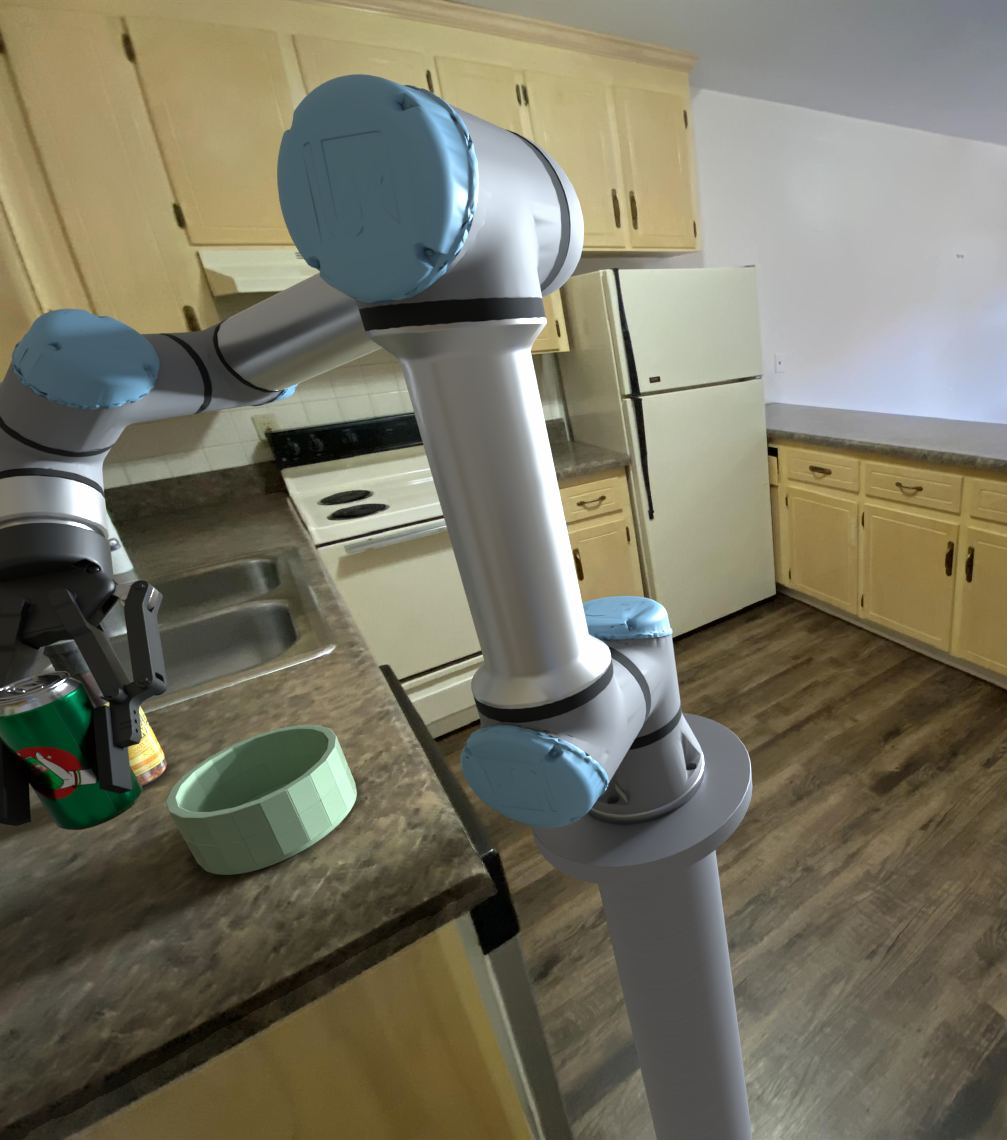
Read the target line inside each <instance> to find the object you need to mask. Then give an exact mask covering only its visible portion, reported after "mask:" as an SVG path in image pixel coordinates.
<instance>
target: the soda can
mask: <svg viewBox="0 0 1007 1140" xmlns="http://www.w3.org/2000/svg"><path fill="white" fill-rule="evenodd" d="M92 708H96V706H95V704H94V702H93V700H92V699H91V697H90V695H89V693H88V692H87V690H86V688H85V686H84V685H83V683H82V682H81V681H79V680H76V679H74V678H72V677H70V674H69V673H68V672H65V671H55V670H54V671H49V672H44V673H39V674H35V675H31V677H28V678H25V679H22V680H19V681H16V682H14V683H11V684H9V685H6V686H4V687H2V688H0V740H1V741H2V743H3V744H4V746H5V747H6V749H7V750H8V752H9V753H10V755H11V756H12V758H13V759H14V761H15V763H16V764H17V766H18V767H19V769H20V770H21V772H22V773H23V775H24V776H25V778H26V779H27V781H28V782H29V786H30V787H31V788H32V790H33V791H34V793H35V795H36V796H37V798H38V799H39V800H40V802H41V804H42V805H43V807H44V808H45V810H46V811H47V813H48V814H49V816H50V817H51V819H52V821H53V822H54V823H55V825H56V826H57V828H59V829H63V830H70V831H81V830H87V829H90V828H94V827H97V826H100V825H103V824H105V823H107V822H110V821H111V820H113V819H115V818H117V817H119V816H120V815H122V814H124V813H125V812H127V811H128V810H129V809H130V808H132V807H133V806H134V805H135V804H136V803H137V802H138V800H139V798H140V797H141V794H142V791H143V786H141V784H140V782H139V781H138V779H137V777H136V775H135V774H134V772H133V770H132V768H131V767H130V773H131V782H132V790H131V791H128V792H125V793H121V794H118V793H114V792H110V791H106V790H102V789H100V788H99V777H98V766H97V754H96V743H95V732H94V720H93V709H92Z"/></svg>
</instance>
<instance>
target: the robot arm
mask: <svg viewBox="0 0 1007 1140" xmlns="http://www.w3.org/2000/svg"><path fill="white" fill-rule="evenodd" d="M276 180H277V181H276V182H277V185H276V186H277V191H278V192H277V193H278V201H279V205H280V210H281V214H282V217H283V220H284V223H285V226H286V229H287V231H288V234H289V236H290V238H291V241H292V242H293V244H294V246H295V248H296V249H297V251H298V253H299V254H300V257H302V259H303V260H304V261H305V263H306V264H307V266H308V267H311V268H313V269H316V270H317V271H318V272H317V273H316V274H313V275H311V276H310V277H307V278H305V279H303V280H301V281H300V282H297V283H296V284H295V283H294V285H291V286H289V287H287V288H285V289H283V290H281V291H279V292H277V293H275V294H273V295H271V296H269V297H267V298H266V299H265V298H264V299H263V300H261V301H259V302H258V303H255V304H253V305H251V306H249V307H247V308H245V309H243V310H241V311H239V312H237V313H234V314H233V315H231V316H229V317H227V318H226V319H224V320H222V321H220V322H218V323H216V324H213V325H211V326H210V327H207V328H205V329H202V330H197V331H187V332H186V331H184V332H181V331H180V332H160V333H159V332H158V333H140V332H139V331H138V330H136V329H134V328H133V327H131V326H130V325H128V324H127V323H125V322H122V321H120V320H118V319H116V318H113V317H111V316H108V315H97V314H93V313H91V312H90V311H88V310H87V309H80V308H59V309H55V310H50V311H47V312H45V313H43V314H41V315H39V317H37V318H36V319H35V320H34V321H33V323H32V324H31V326H30V327H29V329H28V331H27V332H26V333H25V334H24V335H23V336H22V338H21V340H20V341H18V342H17V343H16V344H15V346H14V349H13V351H12V354H11V361H10V362H9V366H8V369H7V371H6V373H5V375H4V378H3V379H2V381H1V382H0V688H2V687H4V686H6V685H9V684H11V683H14V682H16V681H19V680H22V679H25V678H28V677H31V676H33V675H32V674H33V672H34V669H35V665H36V662H37V661H39V660H41V659H42V657H43V656H44V654H43V651H44V648H45V646H49V645H51V644H54V643H56V642H58V641H61V640H74V641H75V643H76V645H77V647H78V649H79V650H80V652H81V654H82V656H83V658H84V660H85V662H86V664H87V666H88V667H89V669H90V671H91V673H92V675H93V677H94V679H95V681H96V683H97V685H98V686H99V688H100V690H101V692H102V694H103V696H104V697H102V696H101V697H100V698H101V699H103V700H105V701H107V702H109V706H106V705H103V706H99V707H96V708H92V709H93V720H94V732H95V743H96V754H97V766H98V777H99V788H100V789H102V790H106V791H110V792H114V793H118V794H121V793H125V792H128V791H131V790H132V782H131V773H130V763H129V754H128V747H129V746H133V745H136V744H139V743H140V741H141V738H142V732H141V726H140V725H141V724H140V715H139V707H140V706H141V705H142V703H144V702H145V701H147V700H148V699H150V698H152V697H154V696H156V697H157V696H161V695H163V694H165V693H166V692H167V691H168V688H169V687H168V679H167V674H166V673H167V672H166V667H165V659H164V653H163V646H162V641H161V640H162V639H161V634H160V628H159V627H160V626H159V622H158V612H159V610H160V607H161V604H162V601H163V597H164V596H163V594H162V592H160V591H159V590H157V588H155V586H153V585H151V584H150V583H149V582H148V581H146V580H142V579H140V580H136V581H134V582H133V583H131V584H118V583H117V582H116V581H115V579H114V569H113V559H112V558H113V557H112V547H111V544H110V541H109V537H110V533H109V526H108V525H109V524H108V515H107V506H106V505H107V504H106V495H105V487H104V486H105V485H104V475H103V473H104V472H103V465H104V461H105V458H106V457H107V455H108V454H109V452H110V451H111V449H112V448H113V447H114V445H115V444H116V443H117V441H118V439H119V438H120V436H121V435H122V433H123V431H124V430H125V429H126V428H127V427H128V426H130V425H134V424H138V423H139V424H140V423H147V422H153V421H159V420H165V419H171V418H178V417H184V416H190V415H191V416H192V415H198V414H201V413H209V412H215V411H216V412H217V411H222V410H227V409H228V410H230V409H236V408H237V409H238V408H244V407H261V406H265V405H269V404H272V403H274V402H279V401H282V400H286V399H288V398H289V397H291V396H293V394H294V393H295V391H296V389H297V386H298V385H299V384H300V383H304V382H305V381H308V380H310V379H313V378H314V377H315V378H316V377H317V376H320V375H322V374H325V373H327V372H329V371H332V370H334V369H336V368H338V367H341V366H343V365H345V364H348V363H350V362H353V361H355V360H357V359H359V358H362V357H365V356H367V355H369V354H371V353H374V352H376V351H379V350H381V349H383V350H385V351H387V352H388V353H390V355H392V356H393V357H394V358H395V359H396V360H397V361H398V362H399V363H400V367H401V370H402V375H403V378H404V381H405V385H406V389H407V391H408V395H409V398H410V403H411V406H412V411H413V413H414V417H415V420H416V423H417V427H418V430H419V435H420V438H421V441H422V445H423V448H424V452H425V455H426V459H427V462H428V463H427V464H428V466H429V470H430V473H431V477H432V480H433V484H434V488H435V491H436V495H437V499H438V502H439V505H440V509H441V512H442V517H443V519H444V523H445V527H446V530H447V533H448V537H449V539H450V544H451V548H452V551H453V556H454V558H455V562H456V565H457V569H458V573H459V576H460V580H461V583H462V586H463V591H464V593H465V597H466V602H467V605H468V609H469V612H470V615H471V619H472V622H473V627H474V630H475V633H476V636H477V640H478V643H479V648H480V651H481V654H482V657H483V662H482V663H481V664H480V665H479V667H478V668H477V670H476V671H475V672H474V674H473V676H472V678H471V682H470V689H471V693H472V696H473V700H474V703H475V707H476V710H477V713H478V716H479V719H480V726H479V728H478V729H476V730H474V731H473V732H472V733H470V735H469V737H468V738H467V740H466V743H465V744H464V746H463V748H462V749H461V752H460V768H461V772H462V775H463V778H464V779H465V781H466V784H468V786H469V788H470V789H471V790H472V792H473V793H474V794H475V795H476V796H477V797H478V798H479V799H480V800H481V801H482V802H483V803H484V804H485V805H487V806H488V807H489V808H491V809H493V810H495V811H496V812H498V813H500V814H501V815H502V816H504V817H506V818H508V819H510V820H513V821H515V822H518V823H520V824H524V825H527V826H530V825H531V826H537V827H560V826H565V825H569V824H572V823H574V822H576V821H578V820H579V819H580V818H582V817H583V816H585V815H586V814H587V813H588V814H589V815H591V816H592V817H594V818H596V819H598V820H601V821H604V822H607V823H612V824H624V825H627V824H639V823H644V822H648V821H652V820H655V819H658V818H661V817H663V816H666V815H668V814H670V813H672V812H674V811H675V810H677V809H678V808H680V807H681V806H683V805H684V804H685V803H686V802H688V801H689V800H690V799H691V798H692V797H693V796H694V794H695V793H696V792H697V791H698V789H699V787H700V786H701V784H702V781H703V778H704V774H705V765H704V758H703V753H702V750H701V747H700V745H699V743H698V741H697V739H696V737H695V736H694V734H693V732H692V730H691V729H690V727H689V725H688V723H687V721H686V720H685V718H684V716H683V714H682V713H683V710H682V704H681V696H680V695H681V694H680V688H679V681H678V672H677V666H676V664H677V663H676V657H675V650H674V642H673V635H672V634H673V628H671V625H670V619H669V614H668V611H667V610H666V608H665V607H664V606H663V604H661V603H660V602H658V601H656V600H654V599H651V598H648V597H644V596H634V595H618V596H617V595H616V596H607V597H600V598H594V599H591V600H587V601H583V600H582V595H581V590H580V585H579V580H578V575H577V571H576V565H575V559H574V555H573V551H572V547H571V546H572V545H571V542H570V536H569V531H568V528H567V522H566V518H565V512H564V508H563V503H562V497H561V491H560V488H559V482H558V479H557V473H556V469H555V464H554V459H553V453H552V449H551V445H550V440H549V434H548V430H547V425H546V420H545V415H544V409H543V406H542V400H541V396H540V391H539V386H538V381H537V380H538V379H537V376H536V370H535V366H534V361H533V356H532V352H531V351H532V348H533V345H534V342H535V341H536V340H537V339H538V337H539V336H540V334H541V332H543V330H544V328H545V327H546V326H547V324H548V321H547V316H546V311H545V306H544V300H543V298H545V297H547V296H550V295H552V294H553V293H555V292H556V291H557V290H559V289H560V288H562V286H563V285H565V284H566V282H568V281H569V279H570V278H571V276H573V273H574V272H575V270H576V268H577V266H578V264H579V262H580V260H581V257H582V253H583V252H582V251H583V248H584V239H585V223H584V216H583V212H582V207H581V203H580V200H579V197H578V195H577V192H576V190H575V187H574V185H573V183H572V182H571V180H570V178H569V177H568V175H567V174H566V172H565V171H564V169H563V168H562V167H561V166H560V165H559V163H558V162H557V161H556V160H555V158H554V157H552V156H551V155H550V154H549V153H548V152H547V151H546V150H545V149H544V148H543V147H541V146H540V145H539V144H537V143H535V142H534V141H532V140H531V139H529V138H528V137H526V136H523V135H521V134H519V133H518V132H514V131H513V130H509V129H506V128H503V127H501V126H499V125H496V124H494V123H493V122H490V121H487V120H486V119H483V118H481V117H478V116H476V115H474V114H472V113H471V112H468V111H465V110H464V109H461V108H459V107H456V106H455V105H452V104H450V103H449V102H447V101H445V100H444V99H443V98H441V96H439V95H436V94H435V93H434V92H432V91H430V90H428V89H425V88H420V87H418V86H415V85H411V84H401V83H398V82H395V81H393V80H390V79H388V78H384V77H382V76H378V75H377V76H376V75H371V74H362V73H360V74H359V73H357V74H356V73H353V74H347V75H341V76H338V77H334V78H331V79H329V80H327V81H325V82H322V83H321V84H319V85H318V86H316V87H315V88H313V90H311V91H310V92H309V93H308V94H307V95H305V96H304V97H303V99H302V100H301V101H300V103H298V105H297V106H296V107H295V109H294V111H293V114H292V120H291V126H290V128H288V129H286V130H285V131H284V132H283V135H282V137H281V141H280V145H279V149H278V156H277V165H276ZM118 602H119V605H120V606H121V607H122V608H123V613H124V622H125V628H126V636H127V641H128V644H127V645H128V650H129V657H130V665H131V672H132V679H133V681H131V679H130V677H129V675H128V673H127V671H126V670H125V668H124V666H123V664H122V662H121V660H120V658H119V657H118V655H117V653H116V652H115V649H114V648H113V646H112V644H111V642H110V641H111V638H110V636H109V634H108V632H107V630H106V629H105V627H104V625H103V623H102V622H103V620H104V619H105V617H106V616H107V615H108V614H109V613H110V611H111V610H112V609H113V608H114V607H115V605H116V604H117V603H118ZM31 815H32V814H31V795H30V784H29V782H28V781H27V779H26V778H25V776H24V775H23V773H22V772H21V770H20V769H19V767H18V766H17V764H16V763H15V761H14V759H13V758H12V756H11V755H10V753H9V752H8V750H7V749H6V747H5V746H4V744H3V743H2V741H1V740H0V825H7V826H13V827H19V826H22V825H25V824H28V823H31V822H32V816H31ZM531 826H530V827H531Z"/></svg>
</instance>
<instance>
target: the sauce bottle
mask: <svg viewBox="0 0 1007 1140" xmlns="http://www.w3.org/2000/svg"><path fill="white" fill-rule="evenodd" d="M43 656H45V657H46V658H48V659H49V661H50V664H51V666H52V667H53V669H54V672H55V671H65V672H68V673H69V674H70V677H72V678H74V679H76V680H79V681H81V682H82V683H83V685H84V686H85V688H86V690H87V692H88V693H89V695H90V697H91V699H92V700H93V702H94V704H95V706H96V707H99V706H103V705H106V706H109V702H107V701H105V700H103V699H101V698H100V697H101V696H102V697H104V696H103V694H102V692H101V690H100V688H99V686H98V685H97V683H96V681H95V679H94V677H93V675H92V673H91V671H90V669H89V667H88V666H87V664H86V662H85V660H84V658H83V656H82V654H81V652H80V650H79V649H78V647H77V645H76V643H75V641H74V640H61V641H58V642H56V643H54V644H51V645H49V646H45V648H44V651H43ZM139 715H140V724H141V725H140V726H141V732H142V738H141V741H140V743H139V744H136V745H133V746H129V747H128V754H129V763H130V767H131V768H132V770H133V772H134V774H135V775H136V777H137V779H138V781H139V782H140V784H141V786H142V787H144V786H145V785H147V784H149V783H150V784H151V782H153V781H154V780H157V778H159V777H160V776H161V775H162V774H163V773H164V772H165V770H166V769H167V765H168V763H167V760H166V758H165V753H164V752H163V749H162V747H161V744H159V741H158V739H157V737H156V735H155V733H154V731H153V729H152V726H151V724H150V723H149V720H148V717H147V716H146V714H145V712H144V711H143V708H142V706H141V705H140V707H139Z"/></svg>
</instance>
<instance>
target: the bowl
mask: <svg viewBox="0 0 1007 1140" xmlns="http://www.w3.org/2000/svg"><path fill="white" fill-rule="evenodd" d="M349 766H350V765H349V764H348V761H347V759H346V757H345V753H344V751H343V749H342V746H341V744H340V742H339V739H338V737H337V735H336V734H335V733H334V731H333V730H332V729H331V728H330V727H329V728H328V727H325V726H322V725H320V724H295V725H291V726H285V727H284V726H283V727H278V728H275V729H272V730H269V731H266V732H262V733H259V734H258V733H257V734H255V735H252V736H250V737H248V738H245V739H243V740H241V741H239V742H236V743H233V744H231V745H229V746H227V747H225V748H223V749H222V750H219V751H218V752H215V753H214V754H212V755H210V756H208V757H207V758H206V759H204V760H202V761H201V762H200V763H198V764H197V765H195V766H194V767H193V768H192V769H190V770H189V771H187V772H186V773H185V774H184V775H183V776H182V777H180V779H179V780H178V781H177V782H176V783H175V784H173V786H172V787H171V789H170V791H169V794H168V795H167V798H166V800H165V804H166V808H167V811H168V813H169V815H170V817H171V818H172V820H173V822H174V824H175V825H176V827H177V829H178V831H179V833H180V834H181V836H182V838H183V840H184V842H185V843H186V845H187V847H188V849H189V850H190V852H191V854H192V856H193V857H194V860H195V862H196V864H198V865H199V866H200V867H201V869H202V870H204V871H206V872H207V873H210V874H212V875H213V874H214V875H219V876H232V875H240V874H247V873H252V872H255V871H258V870H262V869H265V868H268V867H270V866H273V865H276V864H278V863H279V864H280V863H281V862H283V861H286V860H287V859H289V858H292V857H294V856H295V855H297V854H300V853H301V852H303V851H306V850H307V849H308V848H310V847H311V846H313V845H315V844H316V843H318V842H319V841H321V840H322V839H323V838H325V837H326V836H327V835H329V834H330V833H331V832H332V831H333V830H334V829H335V828H337V827H338V826H339V825H340V824H341V823H342V822H343V821H344V819H345V818H346V817H347V816H348V814H350V812H351V810H352V808H353V807H354V805H355V803H356V801H357V796H358V790H357V786H356V782H355V778H354V776H353V774H352V772H351V769H350V767H349Z"/></svg>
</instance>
